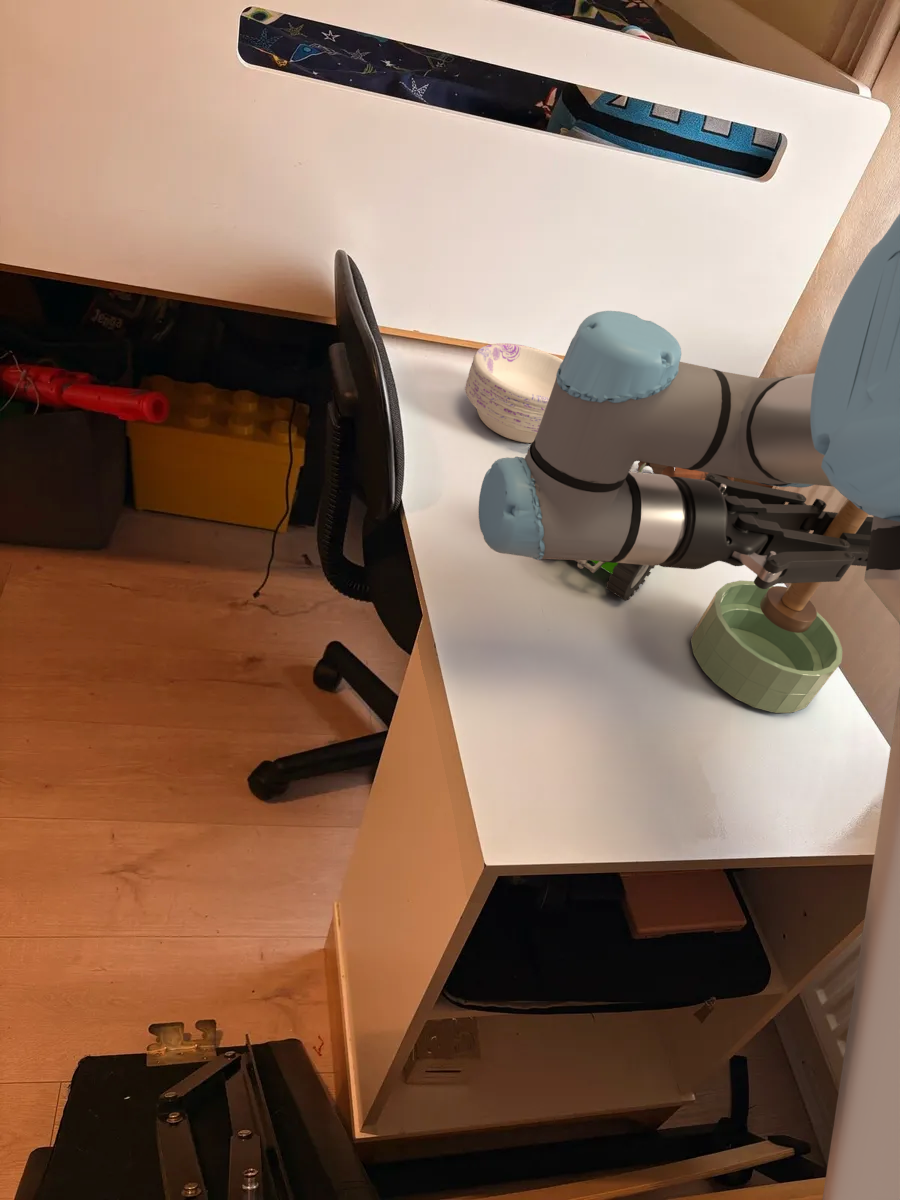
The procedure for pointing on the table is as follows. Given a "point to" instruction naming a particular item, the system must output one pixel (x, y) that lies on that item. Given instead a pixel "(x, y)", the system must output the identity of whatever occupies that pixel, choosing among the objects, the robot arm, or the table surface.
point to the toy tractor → (621, 573)
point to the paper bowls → (512, 388)
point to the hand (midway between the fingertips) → (885, 542)
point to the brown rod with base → (793, 602)
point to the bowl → (762, 652)
